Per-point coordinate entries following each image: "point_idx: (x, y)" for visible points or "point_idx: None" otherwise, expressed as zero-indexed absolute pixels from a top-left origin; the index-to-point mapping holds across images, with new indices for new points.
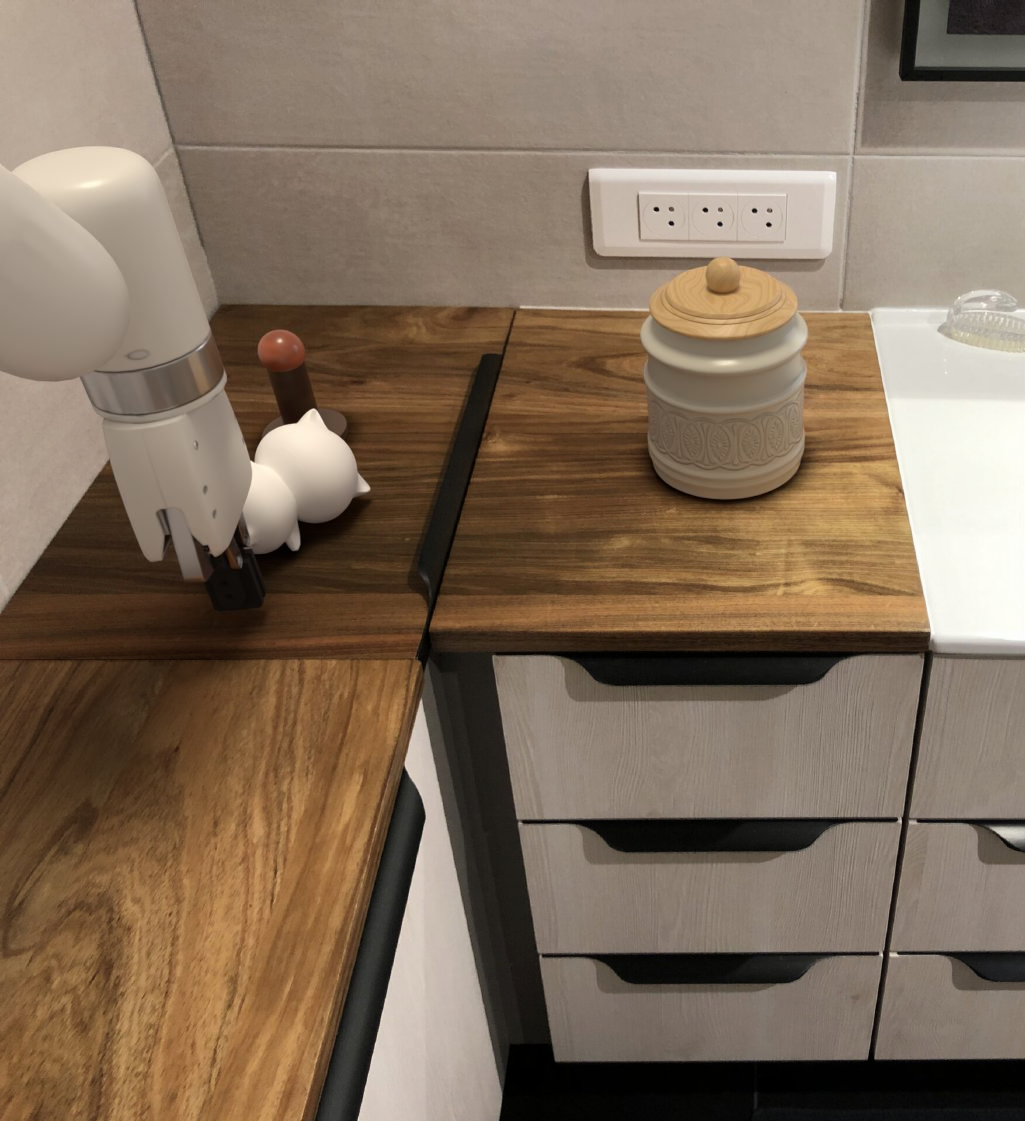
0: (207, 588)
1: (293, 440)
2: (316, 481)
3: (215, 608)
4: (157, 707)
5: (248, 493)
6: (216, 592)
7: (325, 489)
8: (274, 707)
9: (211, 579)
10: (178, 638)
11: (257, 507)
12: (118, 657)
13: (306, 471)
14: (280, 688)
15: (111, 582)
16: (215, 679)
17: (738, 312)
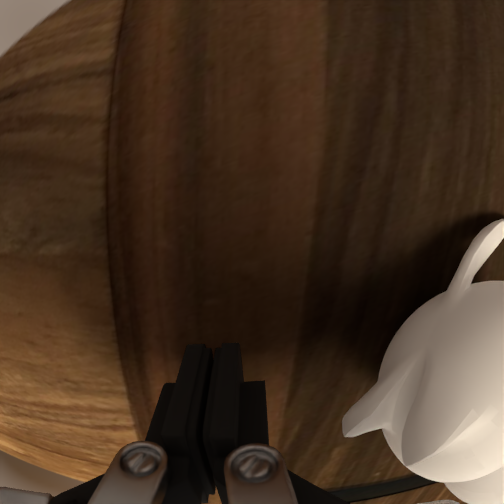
0: (176, 384)
1: None
2: (456, 490)
3: (186, 347)
4: (18, 263)
5: (449, 476)
6: (155, 409)
7: (445, 483)
8: (55, 403)
9: (146, 439)
10: (164, 242)
11: (417, 468)
12: (113, 139)
13: (473, 496)
14: (82, 408)
15: (364, 39)
16: (76, 333)
17: None
